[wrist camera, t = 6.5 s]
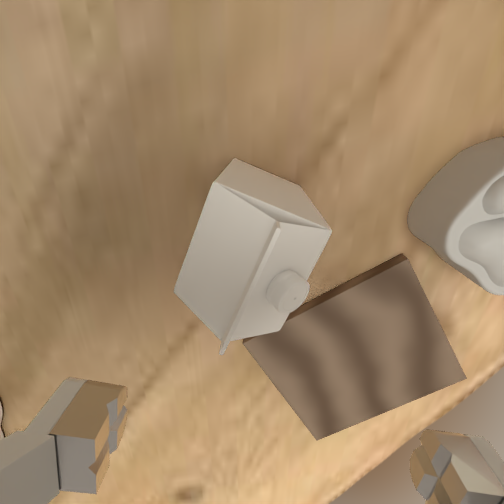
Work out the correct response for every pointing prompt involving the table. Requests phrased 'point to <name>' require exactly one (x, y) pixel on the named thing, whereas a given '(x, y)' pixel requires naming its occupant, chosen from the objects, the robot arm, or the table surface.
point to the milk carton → (251, 253)
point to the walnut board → (358, 350)
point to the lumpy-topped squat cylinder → (466, 214)
